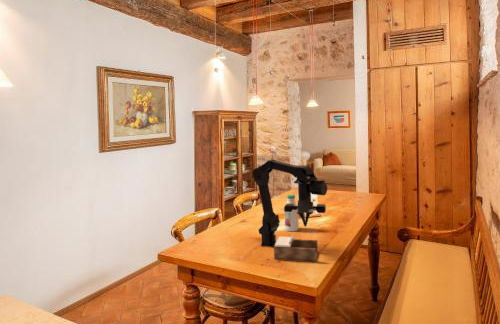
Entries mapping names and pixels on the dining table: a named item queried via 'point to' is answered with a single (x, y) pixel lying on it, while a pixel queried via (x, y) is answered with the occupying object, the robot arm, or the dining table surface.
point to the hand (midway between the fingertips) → (305, 226)
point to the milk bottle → (291, 216)
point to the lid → (284, 241)
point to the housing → (298, 251)
